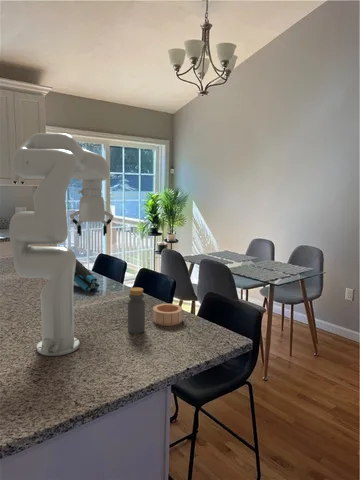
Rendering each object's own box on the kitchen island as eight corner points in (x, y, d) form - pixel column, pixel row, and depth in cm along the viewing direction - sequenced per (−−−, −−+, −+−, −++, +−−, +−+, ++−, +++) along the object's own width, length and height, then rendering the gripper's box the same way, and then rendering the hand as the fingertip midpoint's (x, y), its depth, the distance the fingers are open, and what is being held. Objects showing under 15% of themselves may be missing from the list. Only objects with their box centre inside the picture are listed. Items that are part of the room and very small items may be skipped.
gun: (83, 305, 175) (87, 277, 170) (56, 280, 191) (59, 253, 186) (97, 301, 180) (102, 274, 176) (70, 277, 197) (74, 252, 192)
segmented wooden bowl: (182, 326, 135) (183, 313, 135) (152, 325, 135) (152, 313, 134) (181, 315, 146) (181, 303, 145) (153, 315, 146) (153, 303, 145)
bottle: (124, 330, 130) (124, 288, 128) (137, 326, 134) (138, 285, 132) (134, 335, 126) (135, 292, 124) (148, 330, 130) (148, 289, 128)
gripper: (68, 193, 144) (69, 236, 147) (113, 194, 148) (113, 236, 150) (70, 192, 152) (71, 234, 154) (113, 193, 155) (113, 234, 158)
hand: (92, 235), depth 152 cm, fingers open, 9 cm apart
